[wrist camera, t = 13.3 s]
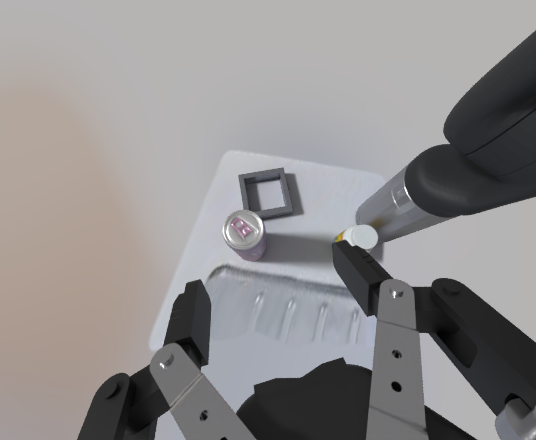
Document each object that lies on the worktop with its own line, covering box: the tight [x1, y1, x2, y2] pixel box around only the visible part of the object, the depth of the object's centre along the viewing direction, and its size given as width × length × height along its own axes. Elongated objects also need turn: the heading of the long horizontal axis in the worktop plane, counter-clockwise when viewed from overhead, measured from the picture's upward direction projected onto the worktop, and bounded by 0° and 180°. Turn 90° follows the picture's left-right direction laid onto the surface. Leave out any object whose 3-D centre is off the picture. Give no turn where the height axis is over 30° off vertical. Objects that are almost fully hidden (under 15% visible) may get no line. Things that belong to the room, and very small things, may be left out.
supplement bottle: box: [333, 225, 378, 253], centre depth 40 cm, size 5×5×10 cm
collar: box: [238, 168, 293, 219], centre depth 46 cm, size 10×10×2 cm
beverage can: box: [223, 210, 267, 261], centre depth 37 cm, size 6×6×15 cm
